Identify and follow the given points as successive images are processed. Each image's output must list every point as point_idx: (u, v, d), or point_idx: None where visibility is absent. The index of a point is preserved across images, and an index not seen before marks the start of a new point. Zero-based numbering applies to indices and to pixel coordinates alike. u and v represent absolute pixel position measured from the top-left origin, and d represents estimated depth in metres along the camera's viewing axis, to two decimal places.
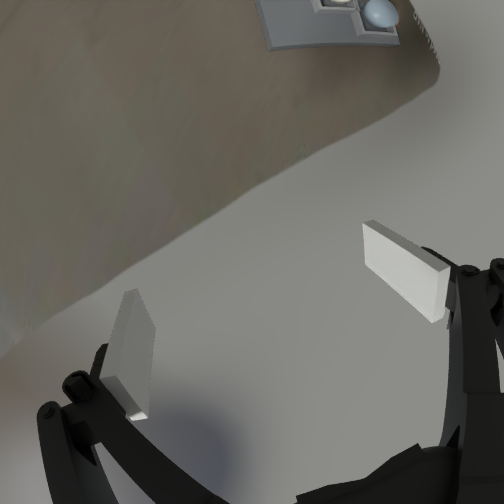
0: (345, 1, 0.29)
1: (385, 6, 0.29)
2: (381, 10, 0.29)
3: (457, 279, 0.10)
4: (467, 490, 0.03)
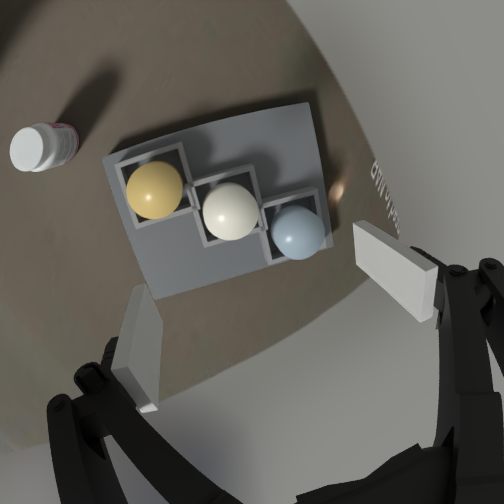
0: None
1: (303, 226, 0.29)
2: (295, 237, 0.29)
3: (445, 279, 0.10)
4: (465, 491, 0.03)
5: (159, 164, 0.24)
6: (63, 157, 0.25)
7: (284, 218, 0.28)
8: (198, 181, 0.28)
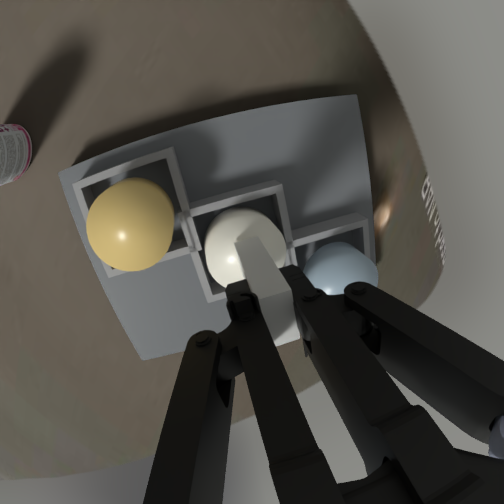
0: None
1: (352, 276, 0.20)
2: (339, 291, 0.20)
3: (301, 309, 0.11)
4: None
5: (135, 186, 0.15)
6: (7, 172, 0.15)
7: (327, 266, 0.19)
8: (198, 209, 0.18)
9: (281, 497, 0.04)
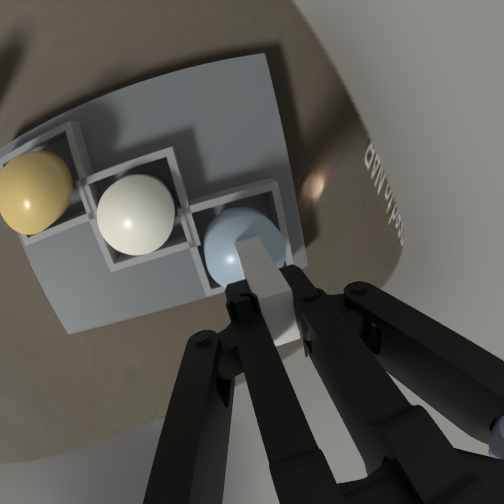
0: None
1: None
2: (236, 258, 0.19)
3: (301, 309, 0.11)
4: None
5: (29, 155, 0.13)
6: None
7: (217, 228, 0.18)
8: (93, 176, 0.17)
9: (281, 497, 0.04)
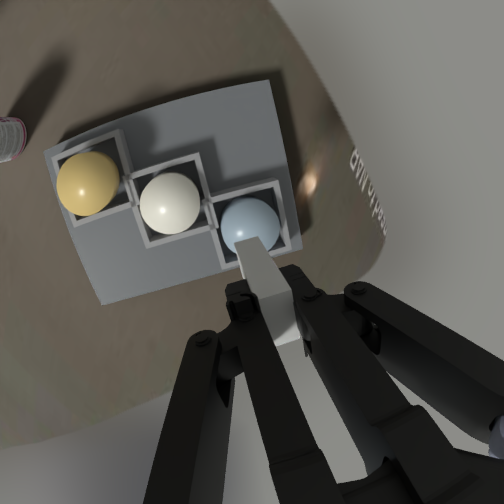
0: None
1: (253, 219, 0.26)
2: (244, 231, 0.26)
3: (301, 309, 0.11)
4: None
5: (88, 154, 0.20)
6: (7, 151, 0.20)
7: (230, 209, 0.25)
8: (136, 173, 0.23)
9: (281, 497, 0.04)
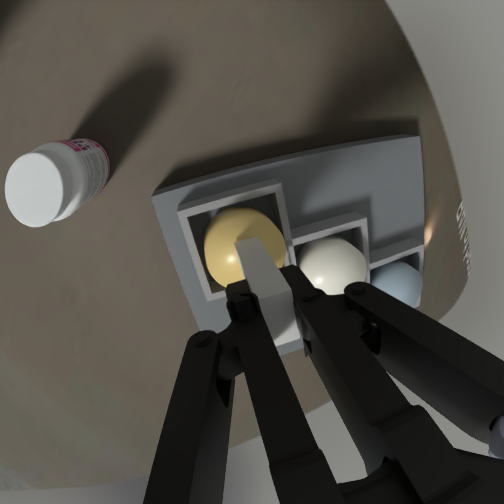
0: None
1: (405, 285, 0.23)
2: (395, 297, 0.23)
3: (301, 309, 0.11)
4: None
5: (257, 218, 0.18)
6: (91, 195, 0.17)
7: (389, 277, 0.23)
8: (299, 239, 0.21)
9: (281, 497, 0.04)
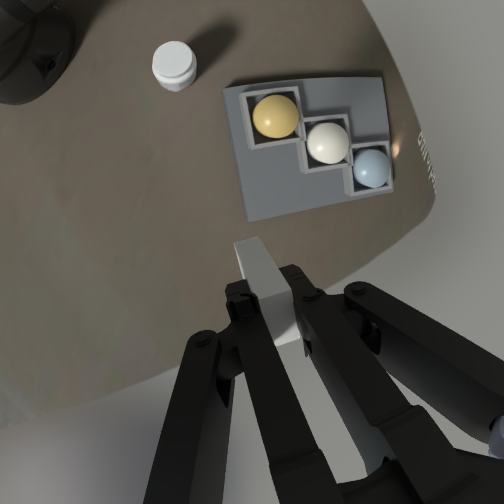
0: None
1: (377, 162, 0.35)
2: (371, 169, 0.36)
3: (301, 309, 0.11)
4: None
5: (284, 97, 0.30)
6: (190, 80, 0.29)
7: (365, 153, 0.35)
8: (307, 118, 0.33)
9: (281, 497, 0.04)
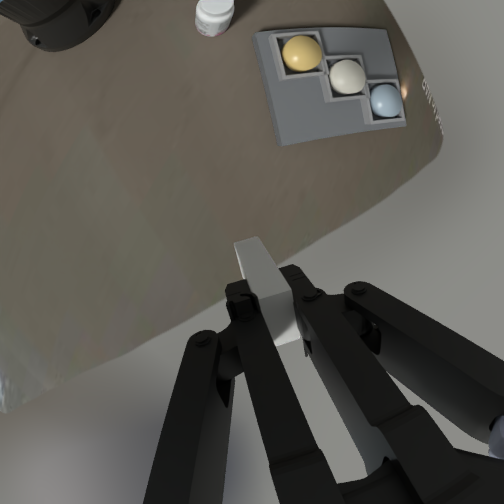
0: None
1: (390, 94, 0.36)
2: (386, 100, 0.37)
3: (301, 309, 0.11)
4: None
5: (308, 37, 0.32)
6: (227, 23, 0.31)
7: (379, 87, 0.36)
8: (328, 56, 0.34)
9: (281, 497, 0.04)
